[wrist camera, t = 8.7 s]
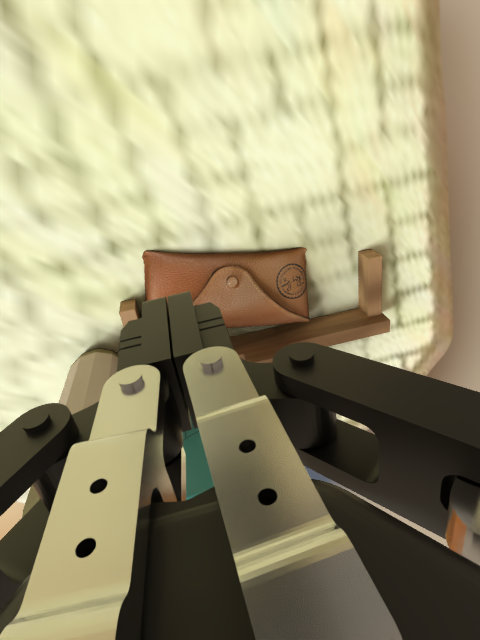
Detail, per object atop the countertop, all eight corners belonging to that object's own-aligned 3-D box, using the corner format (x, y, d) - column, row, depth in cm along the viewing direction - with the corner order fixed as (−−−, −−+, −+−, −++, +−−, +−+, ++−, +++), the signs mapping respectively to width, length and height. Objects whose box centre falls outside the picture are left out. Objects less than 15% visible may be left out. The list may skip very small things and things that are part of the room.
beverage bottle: (170, 380, 49) (183, 534, 31) (222, 394, 51) (261, 544, 34) (151, 423, 51) (153, 589, 34) (201, 434, 53) (228, 594, 36)
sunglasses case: (311, 242, 44) (328, 293, 41) (296, 282, 50) (309, 330, 47) (136, 249, 41) (138, 305, 38) (142, 291, 47) (144, 343, 44)
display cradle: (118, 302, 43) (114, 329, 38) (373, 248, 46) (402, 266, 41) (139, 369, 47) (138, 402, 42) (372, 315, 50) (399, 340, 45)
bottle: (107, 331, 44) (49, 656, 18) (146, 375, 48) (145, 703, 22) (52, 364, 45) (-79, 727, 19) (95, 406, 48) (34, 762, 22)
